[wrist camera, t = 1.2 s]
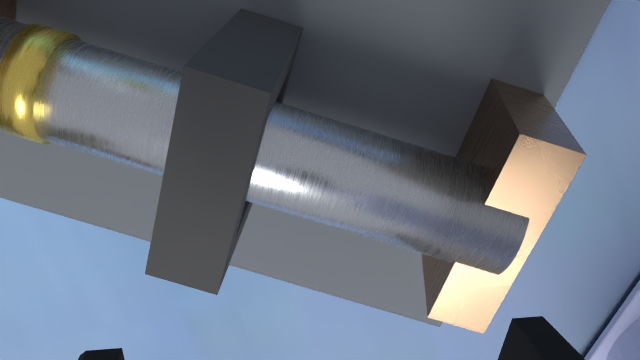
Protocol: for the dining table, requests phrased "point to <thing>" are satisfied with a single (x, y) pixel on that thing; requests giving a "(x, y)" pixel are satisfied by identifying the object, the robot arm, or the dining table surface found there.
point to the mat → (313, 111)
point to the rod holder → (321, 161)
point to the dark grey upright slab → (218, 147)
